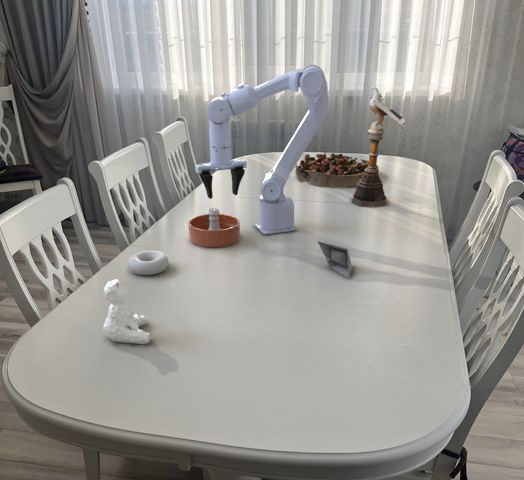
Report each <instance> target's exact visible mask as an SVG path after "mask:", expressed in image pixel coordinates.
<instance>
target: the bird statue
mask: <svg viewBox="0 0 524 480" xmlns="http://www.w3.org/2000/svg"><path fill="white" fill-rule="evenodd" d="M371 91H372V93H373V95H372V96H370V97H369V98H370V101H369V104H368V106H369V108H370V110H371V111H372V112H374V114H375V119H376V121H373V122H372V123H371V125H370V128H369V129H368V130H367V132H368V137H367V138H368V140H369V143H370V146H369V153H368V156H369V158H368V161H369V165H368V167H367V168H366V169H365V170H364V171H365V172H364V174H363V176H362V178H361V179H360V180H359V182H358V184H357V187H355V190H354V192H353V194H352V198H351V204H355V205H357V206H359V207H364V208H366V207H367V208H377V207H381V206H386V204H387V195H386V194H385V191H384V190H385V189H384V184H383V180H381V177H380V174H379V173H380V169H378V168H377V167H376V165H378V164H377V163H378V162H377V161H378V156H379V146H380V145H379V144H380V142H381V140H383V137H384V136H383V135H384V134H385V130H384V128H383V127H384V125H383V121H384V119H385V116H389V117H390V118H391V119H392V120H394V121H395V122H396V123H397V124H398V125H399V127H401V129H405V124H406V122H407V121H406V119H405V118H404V116H403V114H401V113H399V112H398V111H396V110H395V109H394V108H393V107H390V108H389V107H388V106H387V105H386V104H384V103H383V102H382V98H383V95H382V91H379V89H378V88H377V87H375V86H372V87H371Z"/></svg>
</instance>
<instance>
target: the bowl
mask: <svg viewBox="0 0 524 480" xmlns="http://www.w3.org/2000/svg"><path fill="white" fill-rule="evenodd" d="M209 217H210V215H209V214H208V213H207V214H206V213H205V214H201V215H197V216H194V217H192V218H190V219H189V220H188V226H187V227H188V236H189V237H188V239H189V241H190V242H191V243H192V244H194V245H197V246H200V247H206V248H222V247H227V246H230V245H233V244H235V243H237V242H238V241H240V239H241V220H240V219H239V218H238V217H237V216H235V215H232V214H226V213H219V215H218V217H219V226H220V228H221V230H209V226H210V219H209Z"/></svg>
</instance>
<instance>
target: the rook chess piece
mask: <svg viewBox="0 0 524 480" xmlns="http://www.w3.org/2000/svg"><path fill="white" fill-rule="evenodd" d="M207 214H209V215H210V217H209V219H210V226H209V230H221V228H220V226H219V217H218V215H219V214H221V212H220V211H219V208H217V207H215V208H214V207H210V208H209V209H208V212H207Z"/></svg>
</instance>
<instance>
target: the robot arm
mask: <svg viewBox="0 0 524 480" xmlns="http://www.w3.org/2000/svg"><path fill="white" fill-rule="evenodd" d="M299 89H300V90H301V92H302V94H303V96H304V97H305V99H306V104H307V108H308V110H307V112H306V114H305V115H304V117H303V119H302V121H300V123H299V125H298V126H297V129H296V131H295V132H294V134H293V135H292V137H291V139H290V140H289V142H288V144H287V145H286V147H285V149H284V150H283V152H282V154H281V155H280V157H279V159H278V161H276V163H275V165H274V166H273V167H272V169H271V170H270V171H268V172H266V173H265V174H264V176H263V179H262V183H261V186H260V188H259V190H260V196H259V223H256V224H255V227H256V228H257V229H258V230H259V231H260V232H261V233H262V234H263V235H272V234H280V233H288V232H294V231H295V230H296V229H295V204H294V200H293V199H292V197H290V196H286V195H285V193H284V188H285V185H286V183H287V182H288V180H289V177H291V176H290V175H291V174H292V172H293V170H294V169H295V167H296V164H298V162H299V160H300V159H301V157H302V155H303V154H304V152H305V151H306V149H307V148H308V146H309V145H310V142H311V141H312V140H313V138H314V136H315V135H316V134H317V131H318V130H319V128H320V127H321V125H322V123H323V122H324V120H325V119H326V117H327V115H328V113H329V111H328V110H329V106H328V105H329V103H328V102H329V101H328V93H329V91H328V89H329V88H328V82H327V79H326V75H325V73H324V70H323V69H322V68H321V67H320V66H319V65H316V64H310V65H306V66H305V67H304V68H303V67H300V68H296V69H293V70H291V71H287V72H286V73H283V74H281V75H279V76H276V77H275V78H271V79H270V80H268V81H266V82H263V83H262V84H259V85H258V86H254V87H253V86H251V85H250V84H246V85H244V84H243V83H241V84H239V85H238V86H237V88H236V89H234V90H232V91H230V92H227V93H226V92H222V93H221V94H220V96H217V97H214V98H213V99H212V100H211V101H210V102H209V103H208V105H207V107H206V115H207V118H208V120H209V121H208V124H209V125H208V126H209V129H208V132H209V133H208V134H209V135H208V136H209V150H210V151H209V153H210V161H208V162H203V163H199V164H195V165H194V167H195V173H197V174H198V176H199V177H200V180H201V181H202V183H203V185H204V188H205V192H206V195H207V198H208V199H210V200H211V199H213V197H214V195H213V179H214V178H213V175H212V174H211V172H217V171H218V172H219V171H227V170H230V175H231V192H232V194H233V195H234V196H238V194H239V188H240V185H241V182H242V180H243V178H244V175H245V173H246V170H245V169H247V167H248V163H247V160H246V159H243V158H242V159H232V134H231V133H232V132H231V131H232V130H231V122H230V121H231V119H230V117H236V116H240V115H241V114H244V113H246V112H248V111H250V110H253V109H255V108H257V105H258V103H259V101H261V100H263V99H265V98H268V97H271V96H274V95H277V94H279V93H281V92H284V91H287V90H288V91H292V92H296V93H297V92H298V93H299Z"/></svg>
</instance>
